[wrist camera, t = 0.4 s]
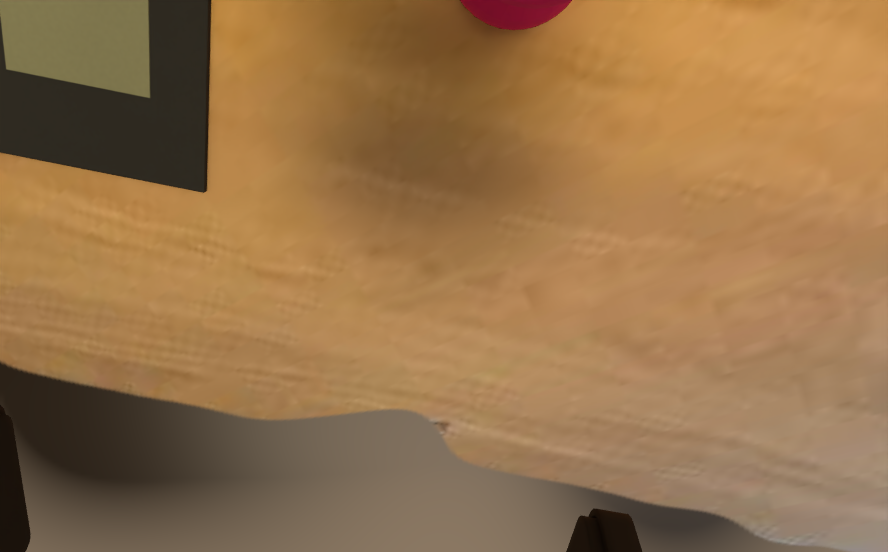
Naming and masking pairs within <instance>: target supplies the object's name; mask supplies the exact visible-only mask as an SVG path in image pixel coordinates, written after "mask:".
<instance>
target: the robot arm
mask: <svg viewBox="0 0 888 552" xmlns="http://www.w3.org/2000/svg"><path fill="white" fill-rule="evenodd" d="M29 542H30V527H29V521H28V515H27V509H26V503H25V497H24V490H23V484H22V478H21V472H20V466H19V460H18V453H17V448H16V441H15V435H14V429H13V423H12V420H11V418H10V417H9V416H8V415H6V414H5V411H4V408H3V407H1V405H0V552H25V551H26V550H27V547H28V544H29ZM566 552H642V549H641V546H640V543H639V539H638V536H637V533H636V530H635V526H634V523H633V521H632V518H631V517H630V516H629V515H628V514H623V513H618V512H612V511H606V510H600V509H593V510H592V511H591V512H590V514H589V517H586V516H580V517H579V518H578V520H577V523H576V526H575V529H574V532H573V534H572V537H571V540H570V543H569V546H568V548H567V551H566Z"/></svg>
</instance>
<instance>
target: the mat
mask: <svg viewBox="0 0 888 552" xmlns="http://www.w3.org/2000/svg"><path fill="white" fill-rule="evenodd" d="M210 13H211V0H0V152H1V153H6V154H11V155H16V156H21V157H26V158H31V159H37V160H42V161H47V162H52V163H57V164H62V165H67V166H72V167H77V168H82V169H87V170H92V171H97V172H102V173H107V174H112V175H117V176H123V177H128V178H133V179H138V180H143V181H148V182H153V183H158V184H163V185H168V186H173V187H178V188H183V189H188V190H193V191H198V192H203V193H204V192H206V188H207V144H208V101H209V57H210Z"/></svg>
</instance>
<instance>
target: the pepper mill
mask: <svg viewBox="0 0 888 552" xmlns="http://www.w3.org/2000/svg"><path fill="white" fill-rule="evenodd" d="M460 1H461V2H462V4H463V5H464V6H465V8H466V9H468V10H469V11H470V12H471V13H472V14H473V15H474V16H475V17H476V18H478V19H480V20H481V21H483V22H485V23H487V24H489V25H492V26H495V27H497V28H501V29H509V30H521V29H528V28H532V27H536V26H538V25H540V24H543V23H545V22H547V21H549V20H550V19H552V18H554V17H555V16H557V15H558V14H559V13H560V12H561V11H562V10H564V9H565V8H566V7H567V6H568V4H569V3H570V2H571V1H572V0H460Z"/></svg>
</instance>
